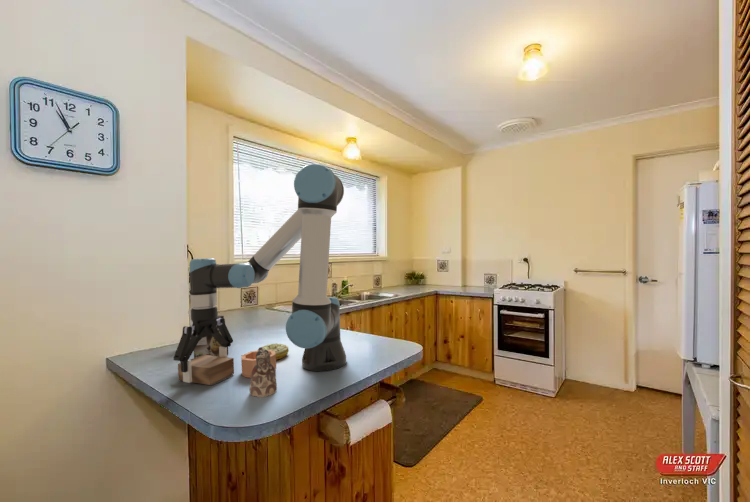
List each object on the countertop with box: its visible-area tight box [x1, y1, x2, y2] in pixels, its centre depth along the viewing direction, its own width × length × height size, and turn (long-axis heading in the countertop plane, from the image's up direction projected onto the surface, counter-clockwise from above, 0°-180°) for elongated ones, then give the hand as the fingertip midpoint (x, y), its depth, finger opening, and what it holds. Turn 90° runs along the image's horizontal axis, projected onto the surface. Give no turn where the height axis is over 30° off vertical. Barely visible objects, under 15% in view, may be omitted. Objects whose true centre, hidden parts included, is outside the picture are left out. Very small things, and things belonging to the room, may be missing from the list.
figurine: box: [249, 346, 278, 398], centre depth 93 cm, size 7×7×12 cm
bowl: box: [240, 349, 277, 379], centre depth 109 cm, size 10×10×6 cm
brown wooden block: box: [177, 355, 235, 386], centre depth 106 cm, size 13×10×5 cm
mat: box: [210, 374, 234, 386], centre depth 106 cm, size 14×8×1 cm, turn 68°
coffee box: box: [193, 315, 225, 358], centre depth 121 cm, size 9×6×16 cm
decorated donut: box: [256, 342, 290, 361], centre depth 124 cm, size 11×12×4 cm
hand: (206, 373), depth 106 cm, fingers open, 13 cm apart
